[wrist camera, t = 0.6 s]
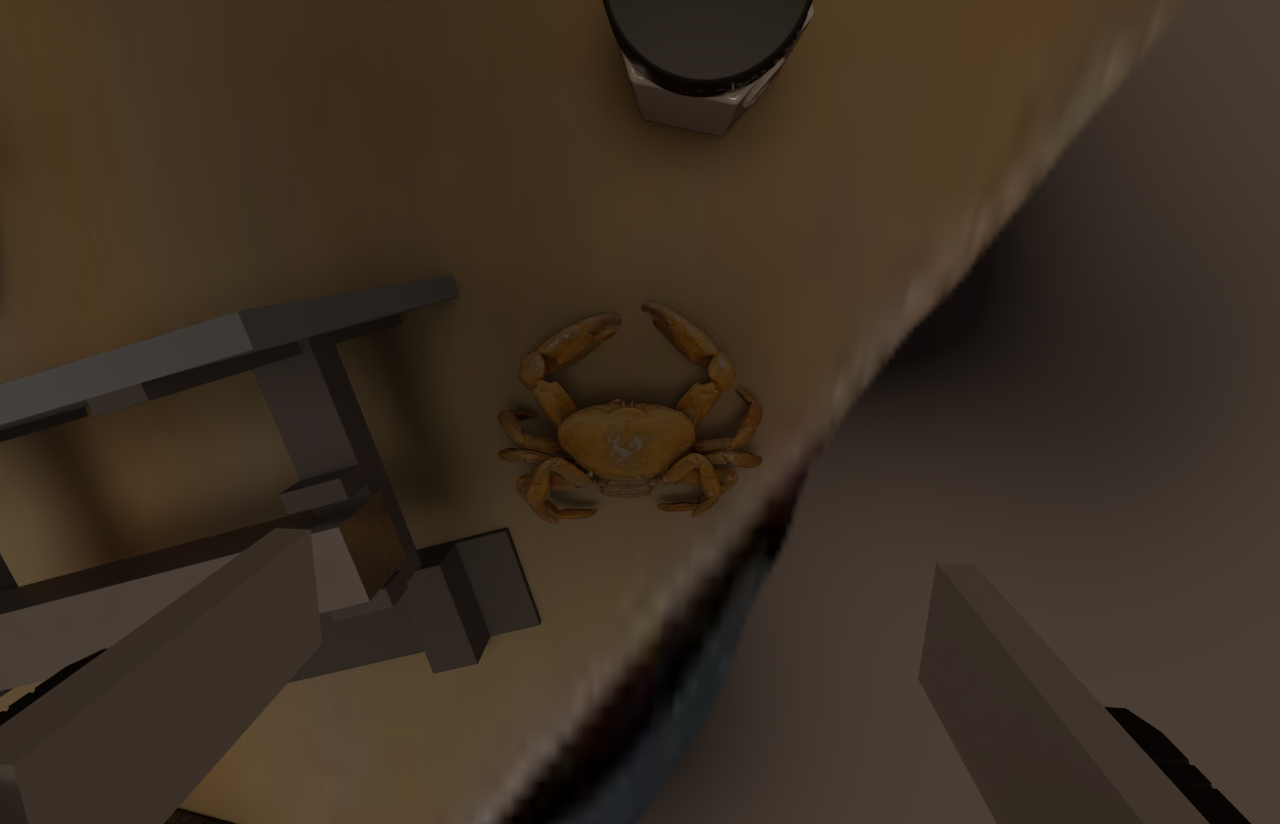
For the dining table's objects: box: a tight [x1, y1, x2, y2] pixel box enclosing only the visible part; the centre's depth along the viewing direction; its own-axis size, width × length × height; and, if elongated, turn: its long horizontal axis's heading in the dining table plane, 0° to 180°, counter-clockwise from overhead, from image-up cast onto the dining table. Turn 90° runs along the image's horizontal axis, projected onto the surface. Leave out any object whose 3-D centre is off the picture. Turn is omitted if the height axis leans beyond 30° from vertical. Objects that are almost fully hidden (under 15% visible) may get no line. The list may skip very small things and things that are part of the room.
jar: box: [603, 0, 814, 136], centre depth 30 cm, size 9×8×12 cm
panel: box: [0, 276, 459, 697], centre depth 34 cm, size 14×32×20 cm, turn 106°
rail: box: [0, 492, 407, 691], centre depth 32 cm, size 4×26×4 cm, turn 106°
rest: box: [288, 528, 541, 683], centre depth 44 cm, size 7×28×4 cm, turn 106°
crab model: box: [498, 302, 763, 524], centre depth 39 cm, size 16×13×6 cm
